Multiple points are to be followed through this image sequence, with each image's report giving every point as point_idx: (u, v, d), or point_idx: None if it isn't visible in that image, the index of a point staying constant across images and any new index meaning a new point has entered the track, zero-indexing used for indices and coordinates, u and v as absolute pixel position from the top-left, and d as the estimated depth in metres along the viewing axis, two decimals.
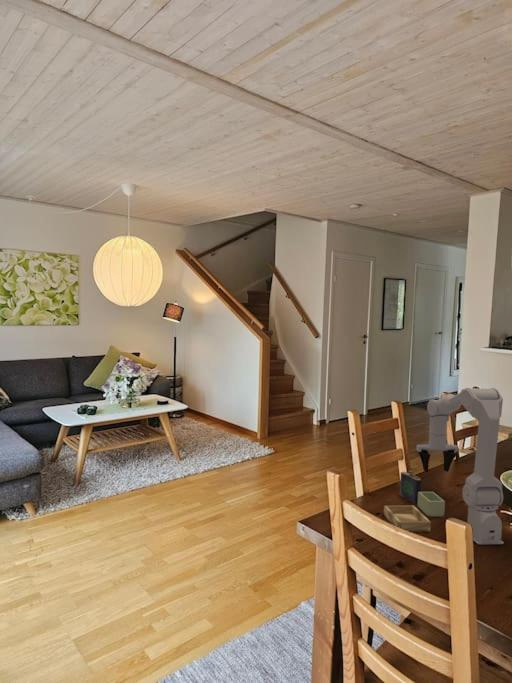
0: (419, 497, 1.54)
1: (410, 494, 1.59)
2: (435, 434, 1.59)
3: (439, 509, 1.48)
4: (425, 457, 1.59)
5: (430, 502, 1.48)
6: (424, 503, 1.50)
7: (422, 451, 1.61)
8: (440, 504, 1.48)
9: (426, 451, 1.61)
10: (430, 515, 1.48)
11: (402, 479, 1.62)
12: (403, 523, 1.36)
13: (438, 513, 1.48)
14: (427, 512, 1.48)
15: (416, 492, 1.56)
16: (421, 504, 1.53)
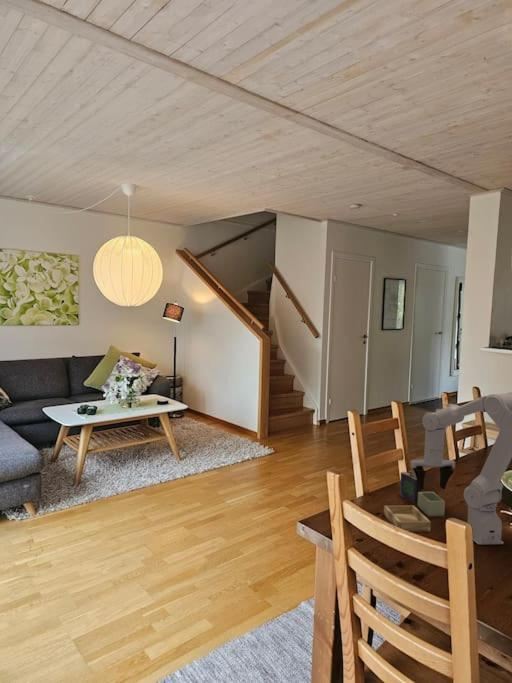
0: (419, 497, 1.54)
1: (410, 494, 1.59)
2: (431, 449, 1.48)
3: (439, 509, 1.48)
4: (420, 474, 1.48)
5: (430, 502, 1.48)
6: (424, 503, 1.50)
7: (417, 467, 1.50)
8: (440, 504, 1.48)
9: (421, 467, 1.50)
10: (430, 515, 1.48)
11: (402, 479, 1.62)
12: (403, 523, 1.36)
13: (438, 513, 1.48)
14: (427, 512, 1.48)
15: (416, 492, 1.56)
16: (421, 504, 1.53)
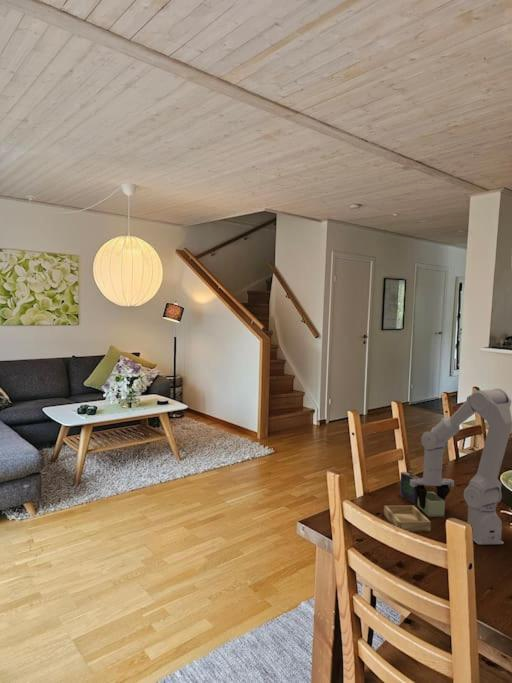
0: None
1: (410, 494, 1.59)
2: (430, 468, 1.49)
3: (439, 509, 1.48)
4: (421, 493, 1.49)
5: (430, 502, 1.48)
6: None
7: (418, 486, 1.50)
8: (440, 504, 1.48)
9: (420, 486, 1.50)
10: (430, 515, 1.48)
11: (402, 479, 1.62)
12: (403, 523, 1.36)
13: (438, 513, 1.48)
14: (427, 512, 1.48)
15: (416, 492, 1.56)
16: None
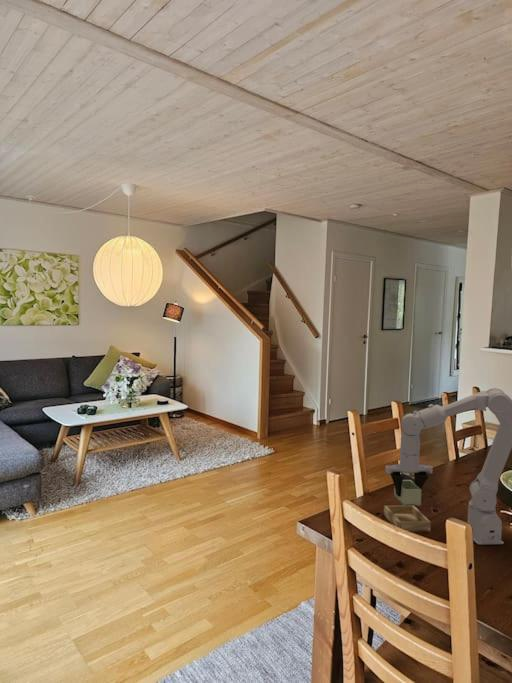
0: None
1: None
2: (406, 454, 1.39)
3: (415, 498, 1.39)
4: (397, 480, 1.39)
5: (405, 490, 1.38)
6: None
7: (394, 473, 1.40)
8: (416, 492, 1.39)
9: (396, 473, 1.41)
10: (405, 504, 1.39)
11: None
12: (403, 523, 1.36)
13: (414, 502, 1.39)
14: (402, 501, 1.39)
15: None
16: None
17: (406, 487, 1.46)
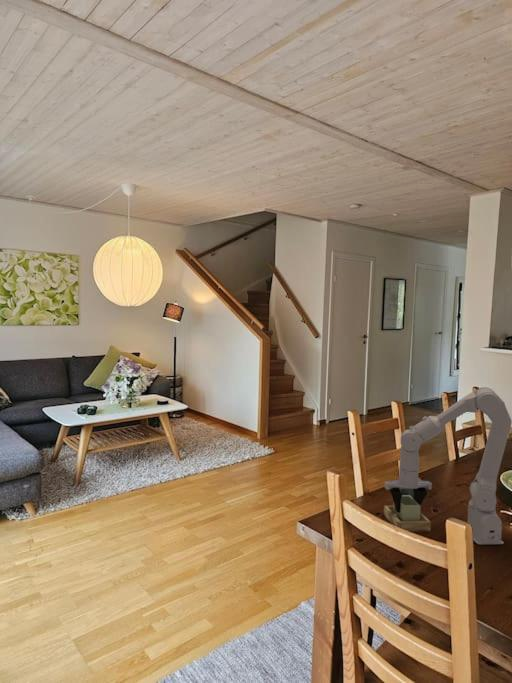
0: None
1: (410, 494, 1.59)
2: (405, 470, 1.40)
3: (414, 514, 1.39)
4: (396, 496, 1.40)
5: (404, 507, 1.39)
6: None
7: (393, 489, 1.41)
8: (415, 509, 1.39)
9: (395, 489, 1.41)
10: (405, 520, 1.39)
11: None
12: (403, 523, 1.36)
13: (413, 518, 1.39)
14: (402, 517, 1.40)
15: None
16: None
17: (405, 502, 1.46)
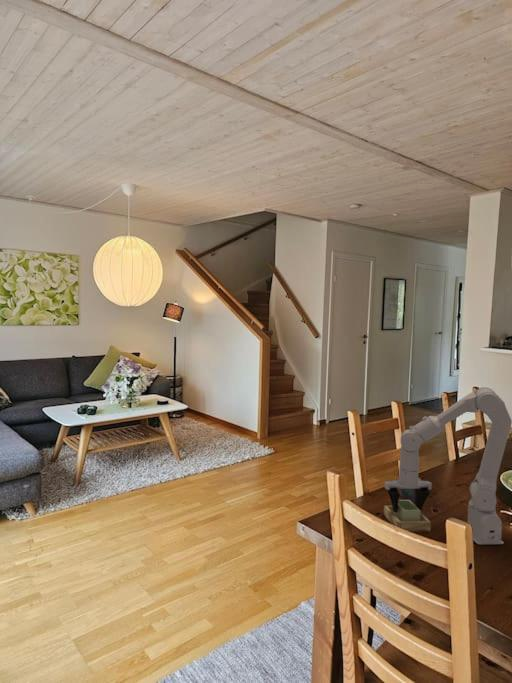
0: None
1: (410, 494, 1.59)
2: (405, 470, 1.40)
3: (414, 519, 1.39)
4: (394, 496, 1.40)
5: (405, 511, 1.39)
6: (399, 512, 1.42)
7: (391, 489, 1.41)
8: (415, 513, 1.39)
9: (395, 489, 1.41)
10: None
11: None
12: (403, 523, 1.36)
13: None
14: None
15: None
16: (396, 513, 1.44)
17: (405, 507, 1.46)
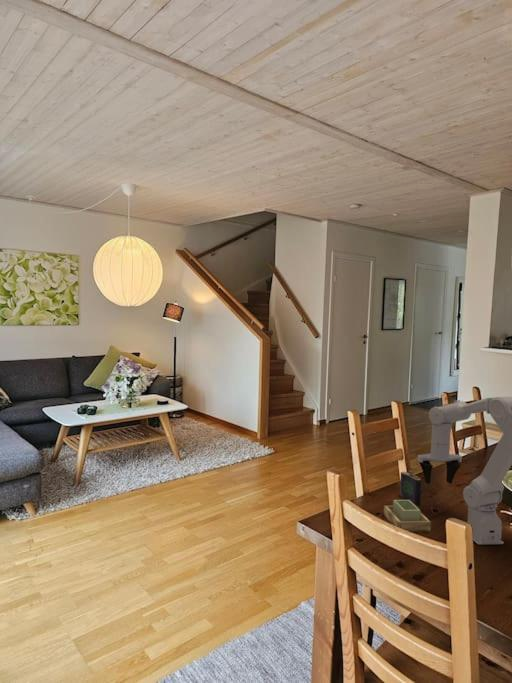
0: (394, 506, 1.45)
1: (410, 494, 1.59)
2: (438, 443, 1.48)
3: (414, 519, 1.39)
4: (427, 468, 1.48)
5: (405, 511, 1.39)
6: (399, 512, 1.42)
7: (424, 462, 1.49)
8: (415, 513, 1.39)
9: (428, 462, 1.49)
10: None
11: (402, 479, 1.62)
12: (403, 523, 1.36)
13: None
14: None
15: (416, 492, 1.56)
16: (396, 513, 1.44)
17: (405, 507, 1.46)
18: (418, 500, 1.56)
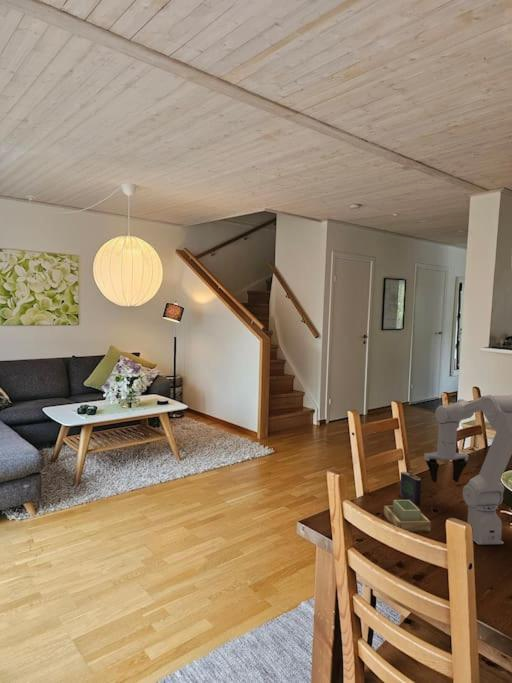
0: (394, 506, 1.45)
1: (410, 494, 1.59)
2: (444, 442, 1.50)
3: (414, 519, 1.39)
4: (434, 467, 1.50)
5: (405, 511, 1.39)
6: (399, 512, 1.42)
7: (430, 460, 1.51)
8: (415, 513, 1.39)
9: (434, 460, 1.51)
10: None
11: (402, 479, 1.62)
12: (403, 523, 1.36)
13: None
14: None
15: (416, 492, 1.56)
16: (396, 513, 1.44)
17: (405, 507, 1.46)
18: (418, 500, 1.56)
